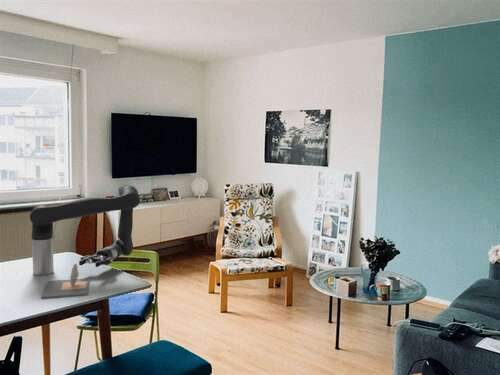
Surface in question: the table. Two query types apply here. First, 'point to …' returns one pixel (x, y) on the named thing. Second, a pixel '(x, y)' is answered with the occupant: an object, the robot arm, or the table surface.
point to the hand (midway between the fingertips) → (88, 264)
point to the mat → (65, 288)
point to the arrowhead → (74, 275)
